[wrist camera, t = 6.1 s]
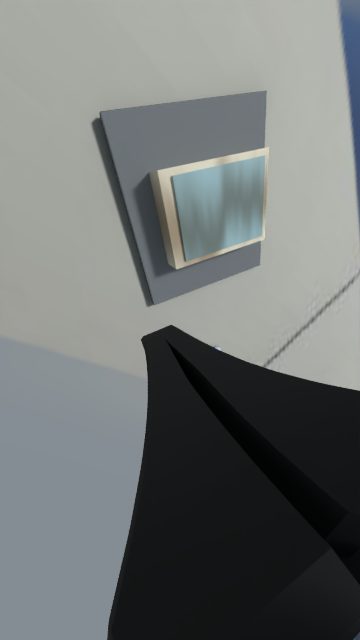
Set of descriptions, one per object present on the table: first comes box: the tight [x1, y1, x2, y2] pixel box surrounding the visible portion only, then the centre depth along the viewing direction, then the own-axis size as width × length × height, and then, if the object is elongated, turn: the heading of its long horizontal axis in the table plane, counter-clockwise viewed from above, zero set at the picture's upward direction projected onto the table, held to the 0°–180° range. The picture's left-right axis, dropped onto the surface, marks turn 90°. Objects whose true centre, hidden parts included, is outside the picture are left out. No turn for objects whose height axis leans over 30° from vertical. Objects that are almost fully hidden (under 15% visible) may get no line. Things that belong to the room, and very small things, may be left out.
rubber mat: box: [99, 91, 267, 305], centre depth 16 cm, size 12×11×1 cm
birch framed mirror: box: [149, 147, 269, 270], centre depth 16 cm, size 6×2×8 cm
